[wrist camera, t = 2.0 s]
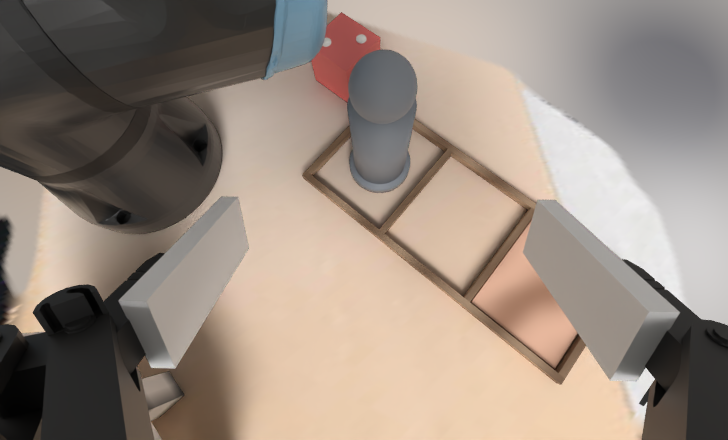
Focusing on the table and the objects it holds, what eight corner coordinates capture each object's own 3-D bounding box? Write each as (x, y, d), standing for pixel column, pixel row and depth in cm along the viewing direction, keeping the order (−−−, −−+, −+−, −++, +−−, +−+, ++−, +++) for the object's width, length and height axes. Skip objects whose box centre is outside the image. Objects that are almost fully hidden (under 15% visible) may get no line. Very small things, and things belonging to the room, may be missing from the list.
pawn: (338, 168, 33) (313, 69, 20) (375, 128, 34) (376, 8, 21) (383, 204, 32) (391, 124, 18) (421, 161, 33) (453, 56, 20)
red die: (316, 79, 36) (307, 43, 31) (345, 51, 37) (341, 11, 32) (350, 104, 35) (346, 70, 30) (379, 74, 36) (380, 36, 31)
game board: (303, 178, 33) (301, 175, 32) (379, 99, 35) (379, 94, 35) (555, 382, 27) (561, 384, 26) (626, 272, 30) (633, 270, 29)
